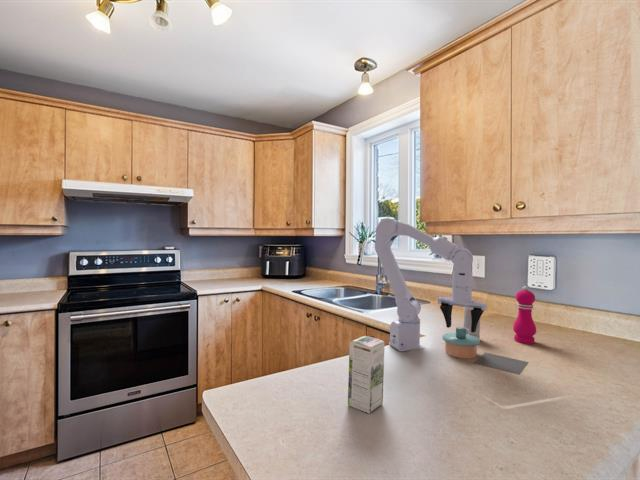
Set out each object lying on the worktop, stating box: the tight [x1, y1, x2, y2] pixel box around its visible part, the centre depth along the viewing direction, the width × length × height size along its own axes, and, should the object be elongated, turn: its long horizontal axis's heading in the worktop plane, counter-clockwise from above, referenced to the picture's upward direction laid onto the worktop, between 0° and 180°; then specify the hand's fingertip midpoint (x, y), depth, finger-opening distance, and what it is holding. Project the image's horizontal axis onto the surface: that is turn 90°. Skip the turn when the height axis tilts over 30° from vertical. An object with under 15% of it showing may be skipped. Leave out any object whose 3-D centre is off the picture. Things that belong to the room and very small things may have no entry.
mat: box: [472, 351, 529, 375], centre depth 101 cm, size 12×12×1 cm
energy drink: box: [463, 307, 481, 340], centre depth 123 cm, size 5×5×12 cm
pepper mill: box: [512, 285, 537, 345], centre depth 123 cm, size 7×7×20 cm
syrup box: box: [347, 335, 385, 414], centre depth 75 cm, size 6×6×14 cm
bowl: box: [444, 341, 478, 359], centre depth 108 cm, size 9×9×4 cm
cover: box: [442, 326, 481, 346], centre depth 108 cm, size 11×11×4 cm
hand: (460, 329), depth 108 cm, fingers open, 7 cm apart
